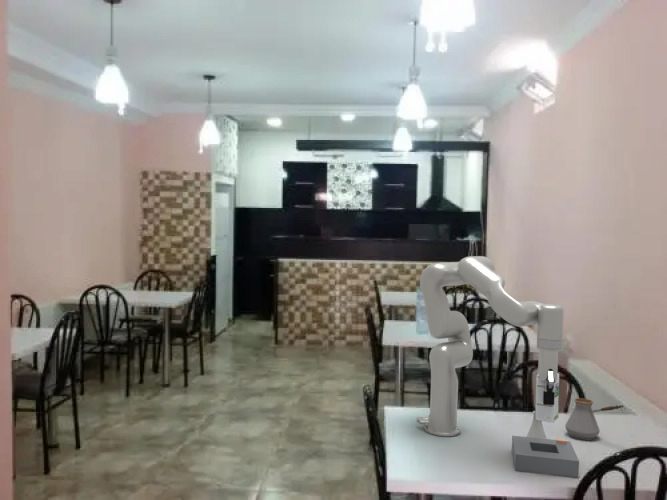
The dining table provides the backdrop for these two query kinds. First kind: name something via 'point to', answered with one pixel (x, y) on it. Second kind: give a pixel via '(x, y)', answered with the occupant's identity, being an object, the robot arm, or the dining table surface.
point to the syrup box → (546, 411)
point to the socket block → (545, 456)
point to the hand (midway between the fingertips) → (547, 400)
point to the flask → (536, 429)
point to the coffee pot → (585, 419)
